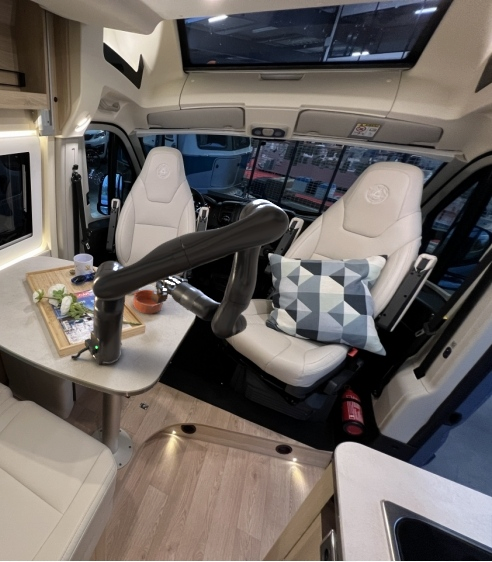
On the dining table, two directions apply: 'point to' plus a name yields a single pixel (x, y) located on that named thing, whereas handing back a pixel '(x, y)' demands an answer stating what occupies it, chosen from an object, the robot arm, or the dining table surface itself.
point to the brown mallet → (159, 296)
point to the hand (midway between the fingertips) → (157, 275)
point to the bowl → (145, 302)
